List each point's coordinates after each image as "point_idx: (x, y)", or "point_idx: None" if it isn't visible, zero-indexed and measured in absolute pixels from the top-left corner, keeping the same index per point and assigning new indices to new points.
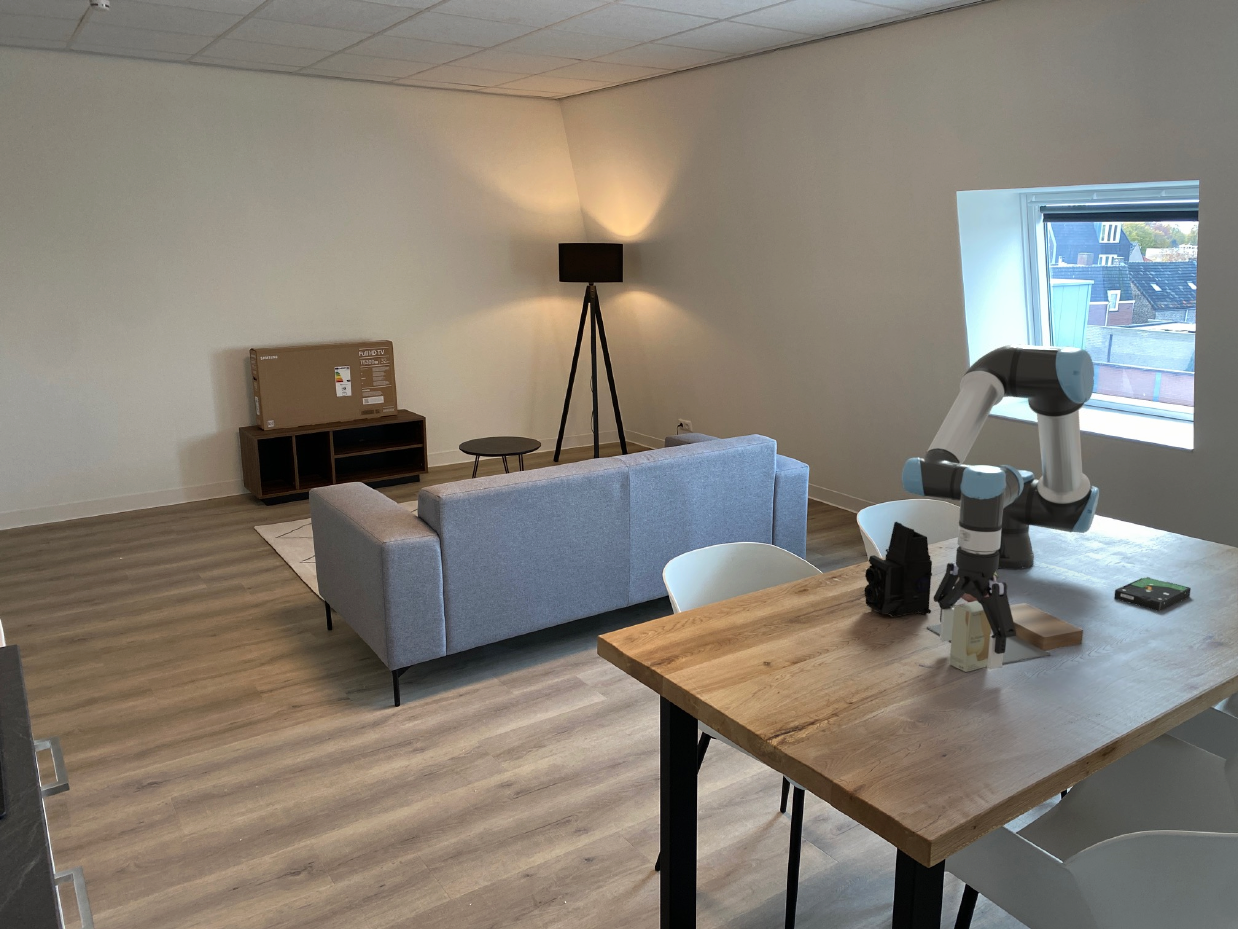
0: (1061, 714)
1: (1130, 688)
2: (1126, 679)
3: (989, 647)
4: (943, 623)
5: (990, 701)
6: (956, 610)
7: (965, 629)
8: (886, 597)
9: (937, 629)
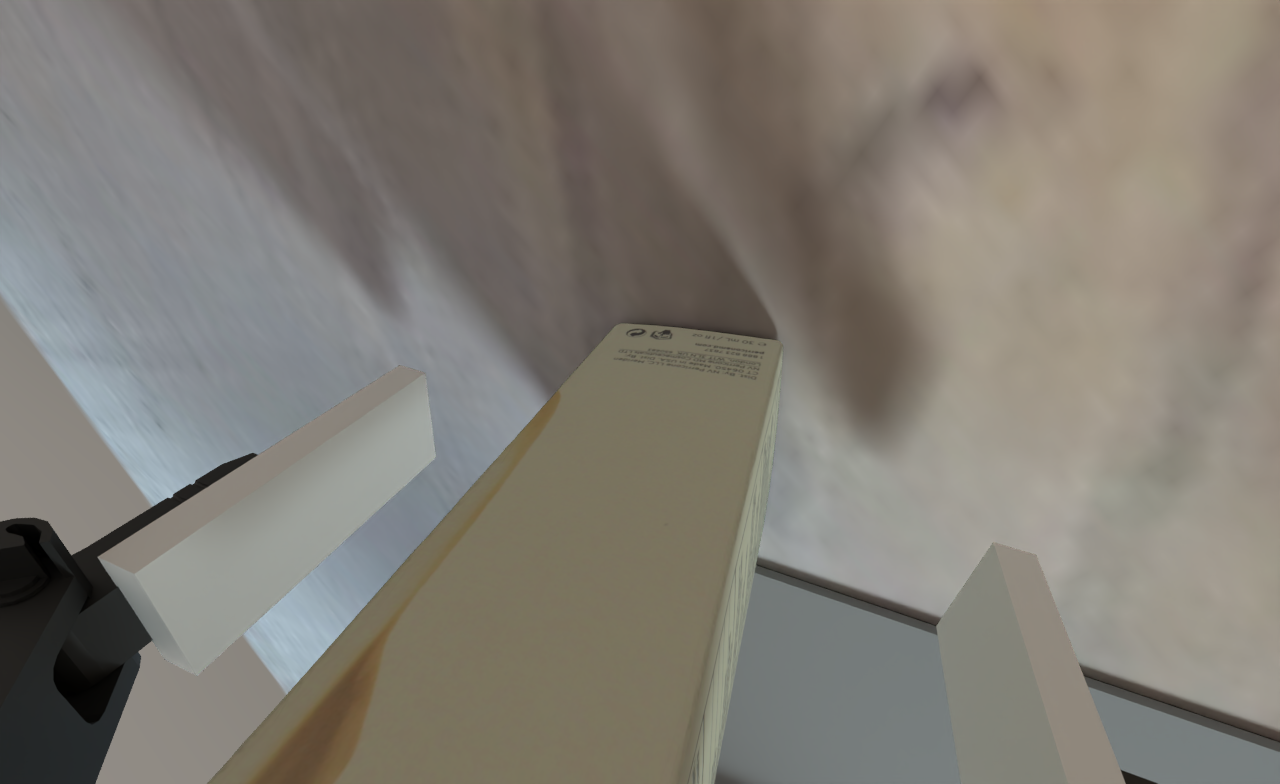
0: (142, 312)
1: (318, 640)
2: None
3: (270, 472)
4: (1056, 745)
5: (249, 102)
6: None
7: (440, 597)
8: None
9: (1265, 779)
